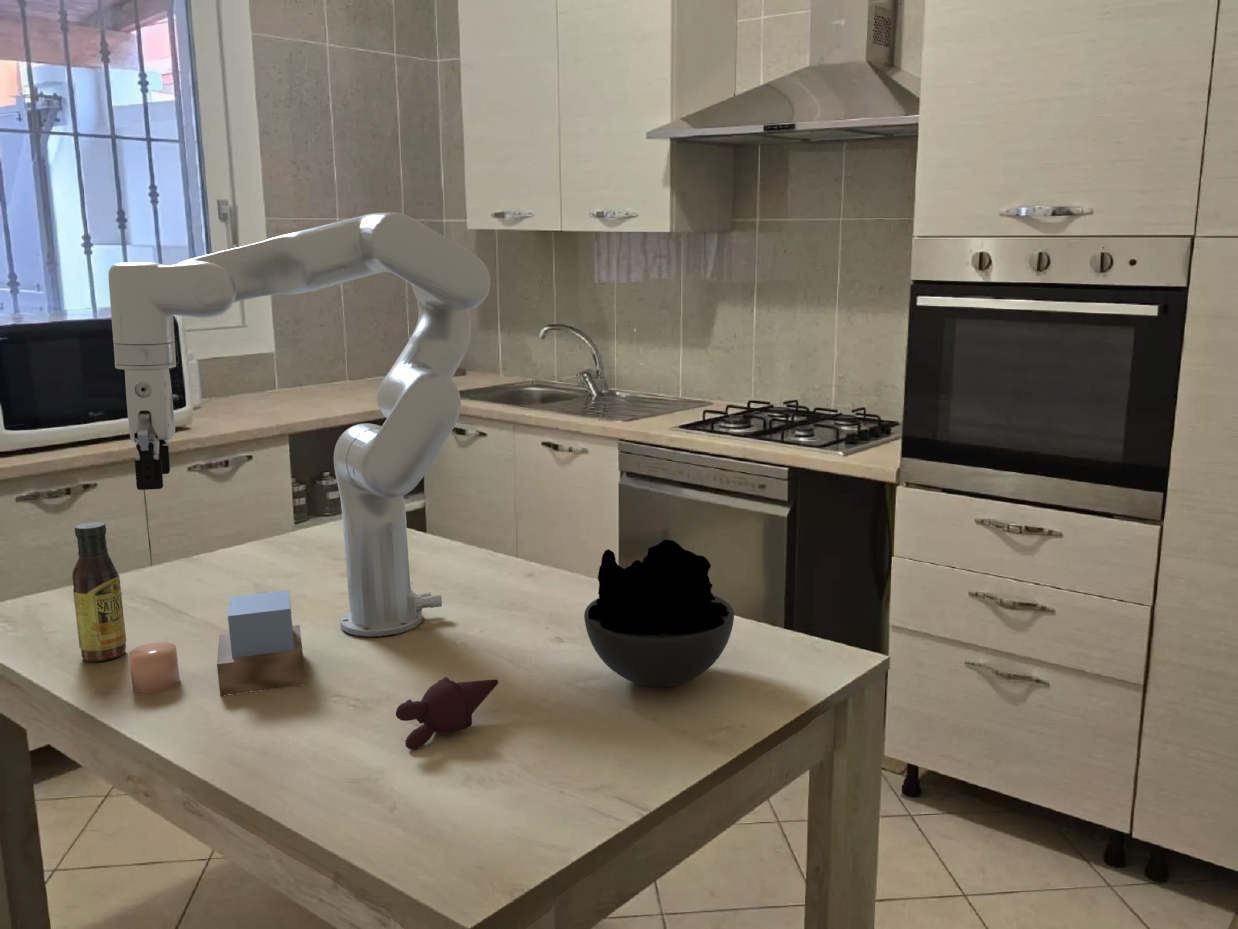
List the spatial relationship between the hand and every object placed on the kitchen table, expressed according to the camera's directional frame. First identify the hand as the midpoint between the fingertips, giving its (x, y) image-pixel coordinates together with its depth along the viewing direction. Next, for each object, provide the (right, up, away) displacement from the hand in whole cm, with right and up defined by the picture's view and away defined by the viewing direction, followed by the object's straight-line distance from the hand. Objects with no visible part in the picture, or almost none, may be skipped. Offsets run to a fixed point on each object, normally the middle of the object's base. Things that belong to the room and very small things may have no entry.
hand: (154, 481), depth 148 cm
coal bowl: (+69, -27, -1) cm, 74 cm away
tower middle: (+14, -23, +3) cm, 27 cm away
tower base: (+14, -28, +4) cm, 31 cm away
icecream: (+43, -31, -14) cm, 55 cm away
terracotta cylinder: (0, -28, +1) cm, 28 cm away
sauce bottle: (-12, -26, +12) cm, 31 cm away
